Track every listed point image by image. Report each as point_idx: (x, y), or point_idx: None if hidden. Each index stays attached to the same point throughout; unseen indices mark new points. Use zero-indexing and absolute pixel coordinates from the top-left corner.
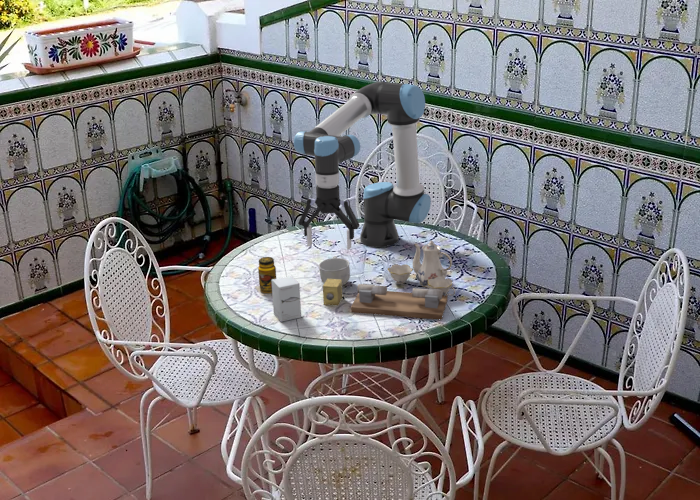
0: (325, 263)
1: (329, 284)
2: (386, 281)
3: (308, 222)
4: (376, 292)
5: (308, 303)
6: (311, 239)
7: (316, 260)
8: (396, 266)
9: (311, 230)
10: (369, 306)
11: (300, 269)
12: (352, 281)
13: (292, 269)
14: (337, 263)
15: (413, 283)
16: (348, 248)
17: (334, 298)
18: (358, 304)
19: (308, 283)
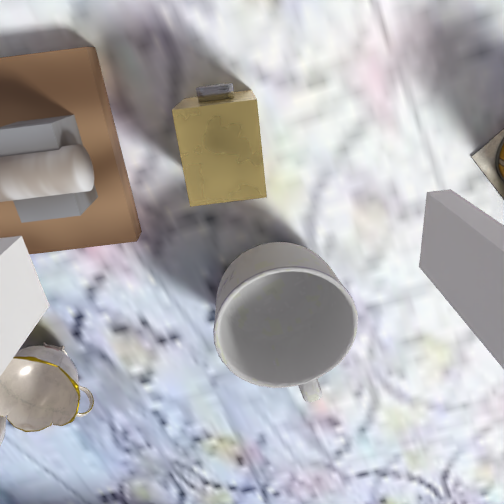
0: (337, 345)
1: (227, 129)
2: (102, 349)
3: None
4: None
5: (323, 79)
6: (443, 278)
7: (401, 414)
8: (65, 415)
9: (499, 357)
10: (3, 82)
11: (440, 346)
12: None
13: (469, 339)
14: (289, 365)
15: None
16: (1, 242)
17: (196, 100)
18: (65, 87)
19: (380, 257)
